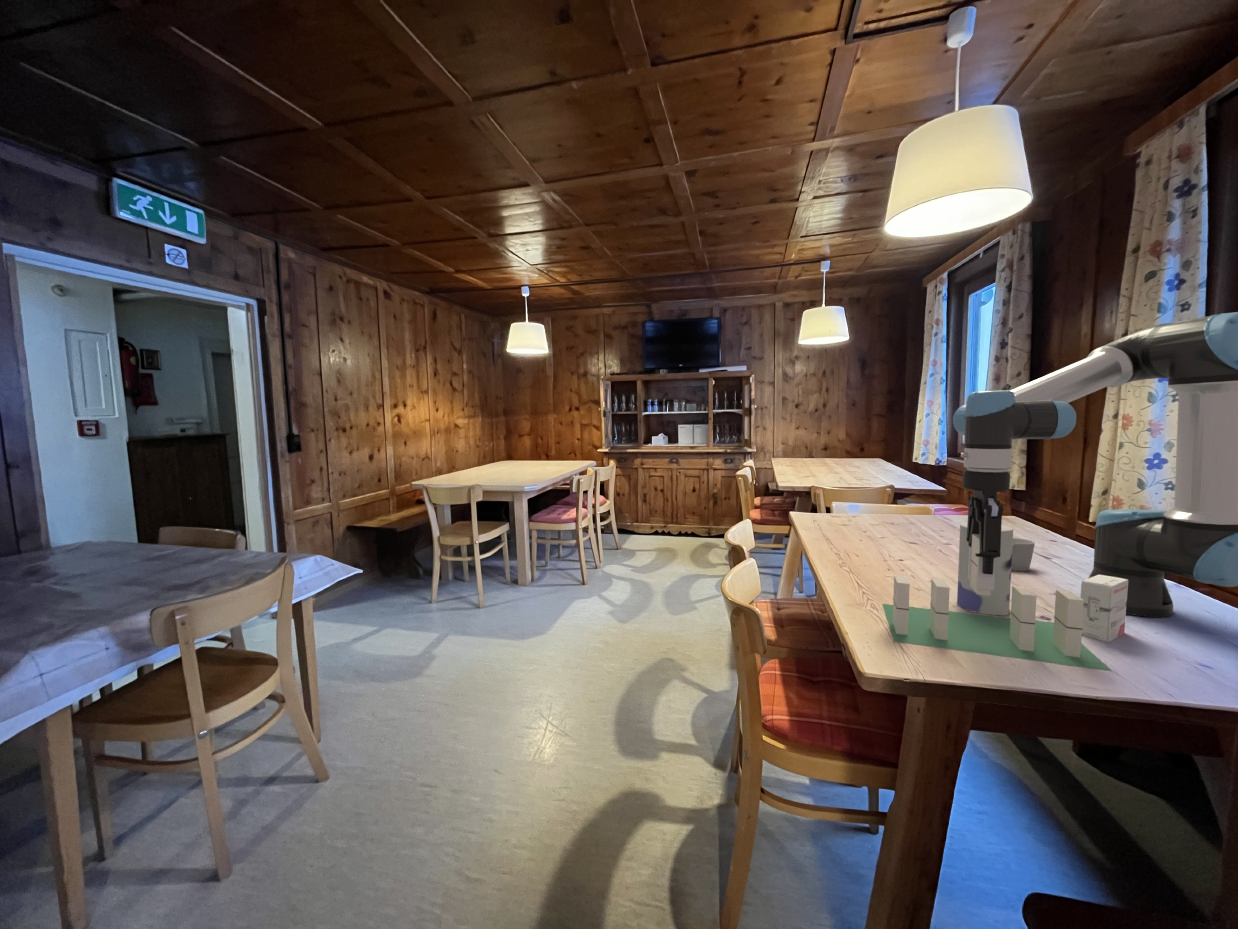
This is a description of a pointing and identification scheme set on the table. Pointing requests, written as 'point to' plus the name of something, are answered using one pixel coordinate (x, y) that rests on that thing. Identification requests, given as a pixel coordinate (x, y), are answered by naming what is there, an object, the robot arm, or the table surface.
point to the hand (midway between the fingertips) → (980, 583)
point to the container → (1001, 592)
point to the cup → (1022, 554)
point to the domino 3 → (973, 569)
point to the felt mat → (988, 638)
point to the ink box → (1104, 607)
